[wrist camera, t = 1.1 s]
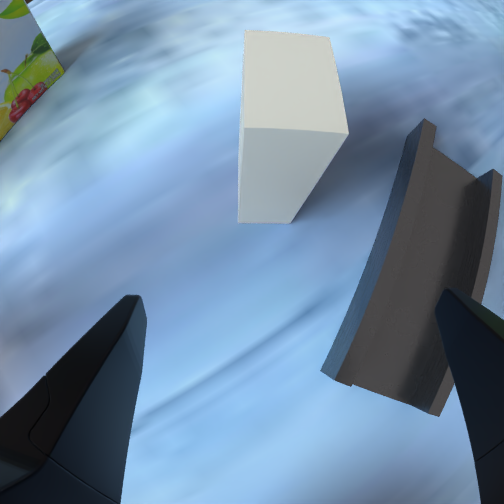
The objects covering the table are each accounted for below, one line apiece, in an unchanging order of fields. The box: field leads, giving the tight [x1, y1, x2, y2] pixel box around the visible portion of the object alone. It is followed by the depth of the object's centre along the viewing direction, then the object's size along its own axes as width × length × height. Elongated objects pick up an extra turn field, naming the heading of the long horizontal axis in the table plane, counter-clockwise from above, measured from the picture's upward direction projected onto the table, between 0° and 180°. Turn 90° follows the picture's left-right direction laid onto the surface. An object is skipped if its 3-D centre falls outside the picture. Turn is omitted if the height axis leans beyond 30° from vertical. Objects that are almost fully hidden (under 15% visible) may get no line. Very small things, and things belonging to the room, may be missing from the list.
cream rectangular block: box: [238, 30, 349, 224], centre depth 16 cm, size 5×4×12 cm
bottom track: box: [321, 119, 502, 417], centre depth 20 cm, size 20×9×3 cm, turn 155°
